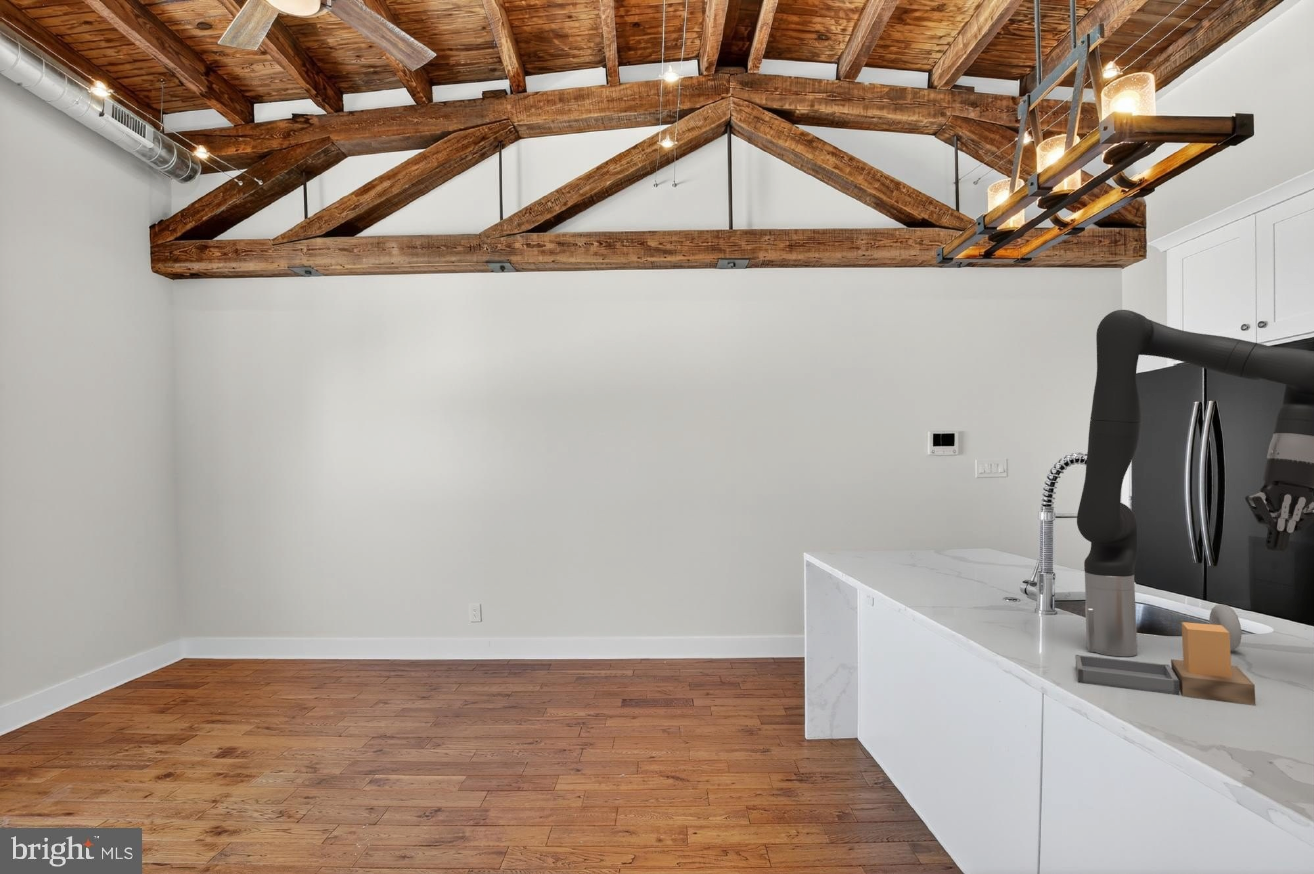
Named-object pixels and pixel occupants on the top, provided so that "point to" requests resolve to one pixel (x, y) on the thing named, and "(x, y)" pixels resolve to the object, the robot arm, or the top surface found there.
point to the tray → (1127, 674)
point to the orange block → (1206, 649)
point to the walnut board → (1215, 685)
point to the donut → (1227, 623)
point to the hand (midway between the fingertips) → (1275, 550)
